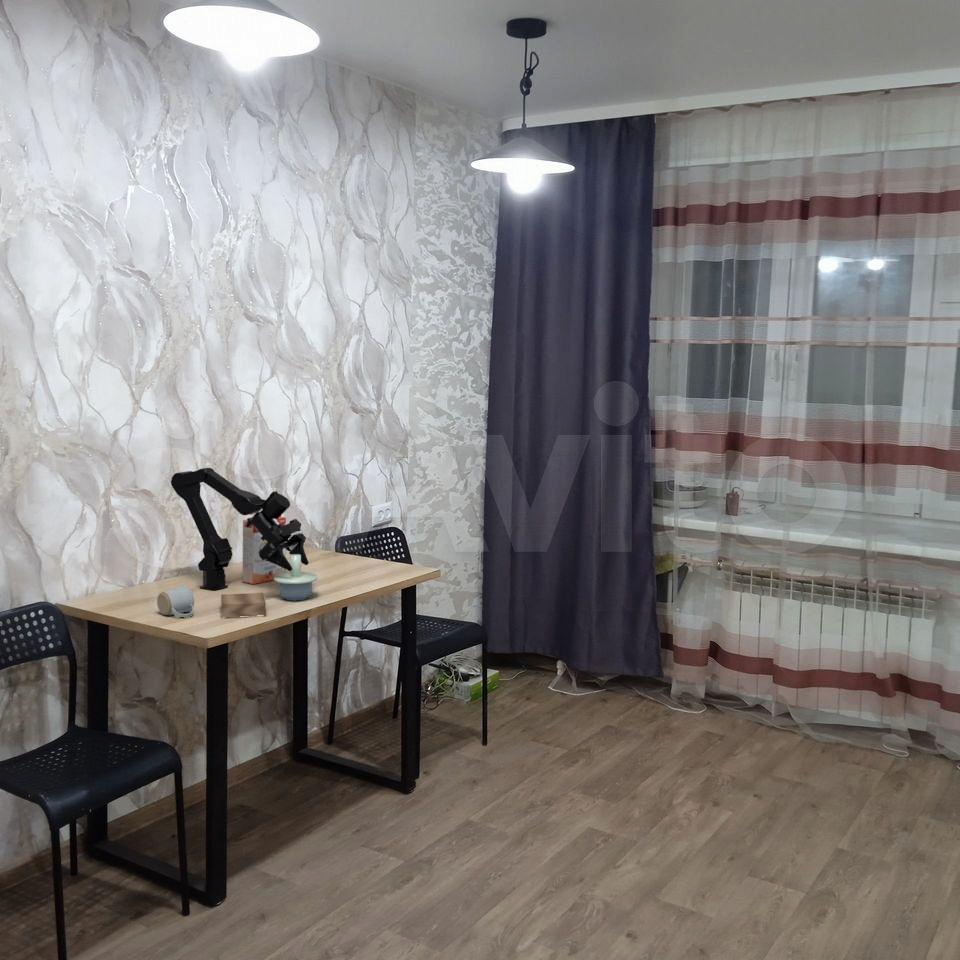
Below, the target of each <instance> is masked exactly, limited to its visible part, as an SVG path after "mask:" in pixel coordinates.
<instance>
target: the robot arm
mask: <svg viewBox="0 0 960 960" xmlns="http://www.w3.org/2000/svg"><path fill="white" fill-rule="evenodd" d="M201 483H204V484H205V485H207V486H208V487H210V488H211V489H213V490H214V491H216V492H217V493H218V494H219V495H222V496H223V497H224V498H226V499H227V500H228V501H230V504H231V505H232V507H233V509H235V510H236V511H237V512H238V513H239V514H240V515H242V516H249V515H253V514H254V515H253V516H252V517H248V518H246V519H247V527H251V526H255V527H256V529H257V530H258V531H259V532H260V534H261V535H262V537H261V539H262V541H263V540H266V541H267V542H268V543H267V544H266V545H265V546H264V547H263V548H262V549H261V550H260V551H259V557H260V558H261V559H262V560H266V561H269V562H271V563H273V564H276V565H278V566H280V567H282V568H284V569H285V571H286V570H287V572H288V571H289V572H290V571H291V570H292V567H291V565H290V561H289V560H288V559H287V558H286V557H285V556H284V554H283V549H284V548H286V551H288V553H289V555H291V554H300V555H301V564H303V565H305V566H308V565H309V564H310V563H309V559H308V558H307V555H306V554H307V553H306V552H305V548H304V546H305V545H304V544H305V543H306V539H307V537H306V535H305V534H304V533H301V532H300V531H301V528H302V523H301V522H300V521H299V520H298V519H297V518H294V519H292V520H290V521H289V523H286V525H284V526H283V525H282V524H279V525H277V523H276V522H275V521H274V520H273V519H278V518H279V517H280V516H282V515H284V513H285V512H286V511H287V510H288V509H289V508H291V502H290V500H289V499H288V497H286V496H285V495H283V494H281V493H279V492H278V491H277V490H276V491H272V492H271V493H270V494H269V496H268V497H267V498H266V499H263V498H261V497H260V496H259V495H257V494H255V493H253V492H250V491H247V490H243V489H241V488H240V487H238V486H236V484H233V483H232V482H231V481H229V480H227V479H226V478H224V476H222V475H220V474H219V473H218V472H216V471H215V469H213V468H211V467H204V468H199V469H198V470H194V471H193V470H187V471H180V472H175V473H174V474H172V476H171V479H170V485H171V487H172V489H173V491H174V492H175V493H176V495H177V496H179V497H180V498H181V499H182V500H184V502H185V503H186V506H187V508H188V511H189V513H190V515H191V517H192V519H193V521H194V524H195V526H196V528H197V530H198V533H199V535H200V537H201V539H202V542H203V543H202V544H203V545H202V546H203V547H202V554H203V558H201V560H200V561H199V562H198V563H197V566H198V570H199V571H201V572H202V577H203V578H202V584H203V585H200V586H199V588H200V589H202V588H204V589H203V590H208V589H209V591H217V589H218V590H221V588H222V589H225V587H226V588H228V587H229V585H228V584H226V573H225V568H228V566H229V564H230V561H231V560H232V558H233V551H232V550H233V547H232V546H231V544H230V542H229V539H228V538H227V537H224V538H222V537H221V536H219V534H218V531H217V530H216V527H215V526H214V523H213V521H212V518H211V517H210V514H209V511H208V510H207V508H206V506H205V503H204V501H203V499H202V497H201V488H202V487H201Z"/></svg>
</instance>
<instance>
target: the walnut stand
mask: <svg viewBox="0 0 960 960" xmlns="http://www.w3.org/2000/svg"><path fill="white" fill-rule="evenodd" d="M220 598H221V599H220V601H221V603H220V604H221V605H220V607H221V609H220V610H221V618H222V617H240V616H257V615H266V616H267V614H266V610H267V609H266V605H267V604H266V599H265V596H264V592H252V593H251V592H250V593H249V592H248V593H230V594H221V596H220Z"/></svg>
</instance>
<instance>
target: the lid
mask: <svg viewBox="0 0 960 960" xmlns="http://www.w3.org/2000/svg"><path fill="white" fill-rule="evenodd" d="M289 558H290V561H289V563H290V565H291V567H292V570H291V571H289V572H288V571H287V572H285V573H281V574H278V575H275V576H274V580H273V581H274V582H276V583H278V584H279V583H284V584H303V583H310V582H312V583H313V582H315V581H317V580H318V575H317V574H316V573H313V572H305V571H302V562H301V555H300V554H289Z"/></svg>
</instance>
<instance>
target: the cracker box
mask: <svg viewBox="0 0 960 960" xmlns="http://www.w3.org/2000/svg"><path fill="white" fill-rule="evenodd" d="M273 520H274V521H275V522H276V523H277V525H279V524H282V525H283V526H284V525H286V524H287V517H286V516H282V515H281V516H280V517H279V518H278V519H273ZM261 537H262V535H261V534H260V532H259V531H258V530H257V529H256V527H255V526H251V527H247V518H246V519H243V520H242V582H243V583H247V584H249V585H258V584H261V583H266V581H267V582H271V580H272V581H274V576H275V575H278V574H281V573H286V569H284V568H282V567H280V566H278V565H276V564H273V563H271V562H269V561H266V560H262V559H261V558H260V557H259V551H260V550H261V549H262V548H263V547H264V546H265V545H266V544H267V543H268V542H267V541H266V540H263V541H262V539H261ZM286 551H287V550H286V548H284V549H283V554H284V556H285V557H286V553H287V552H286ZM257 583H258V584H257Z"/></svg>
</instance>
